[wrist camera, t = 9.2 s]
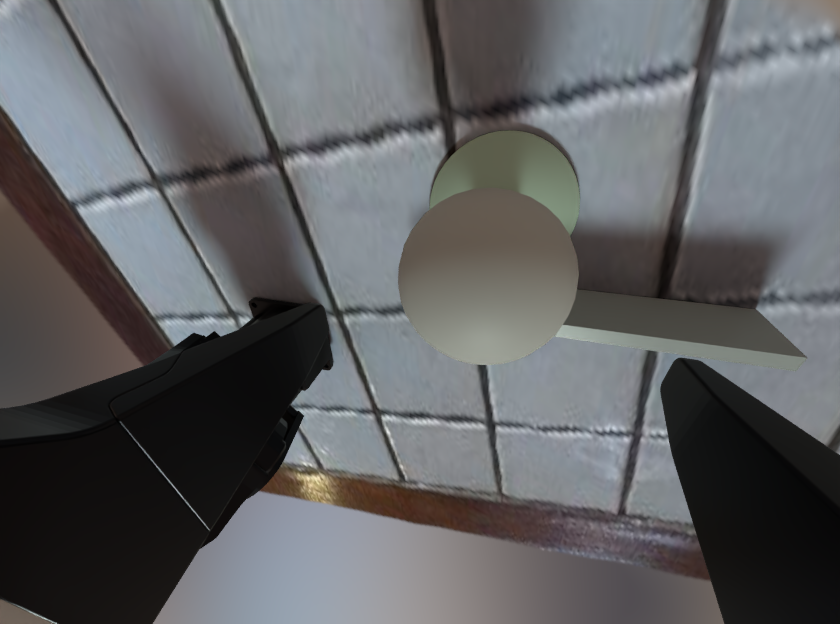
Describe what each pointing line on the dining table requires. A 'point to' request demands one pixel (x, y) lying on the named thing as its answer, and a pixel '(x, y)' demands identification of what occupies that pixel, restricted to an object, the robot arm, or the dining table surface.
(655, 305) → the grey-green flat bar
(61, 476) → the robot arm
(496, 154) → the pad
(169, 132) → the dining table surface
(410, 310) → the lightbulb
